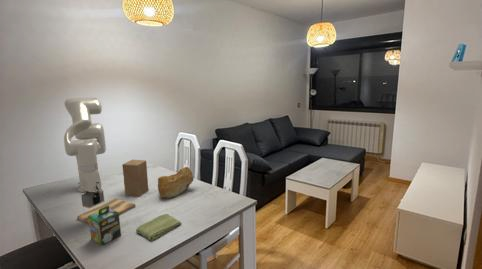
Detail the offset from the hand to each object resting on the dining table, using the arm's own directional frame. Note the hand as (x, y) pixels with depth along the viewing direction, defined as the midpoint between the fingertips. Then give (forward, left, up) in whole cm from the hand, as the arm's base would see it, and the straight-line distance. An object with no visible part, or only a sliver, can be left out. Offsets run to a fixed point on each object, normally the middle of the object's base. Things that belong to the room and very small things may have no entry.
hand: (93, 202), depth 124 cm
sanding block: (0, 0, -1) cm, 1 cm away
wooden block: (-6, +32, -10) cm, 34 cm away
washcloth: (+35, +8, -10) cm, 37 cm away
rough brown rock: (+14, +43, -10) cm, 46 cm away
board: (0, +7, -9) cm, 12 cm away
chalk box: (+19, -8, -10) cm, 22 cm away
